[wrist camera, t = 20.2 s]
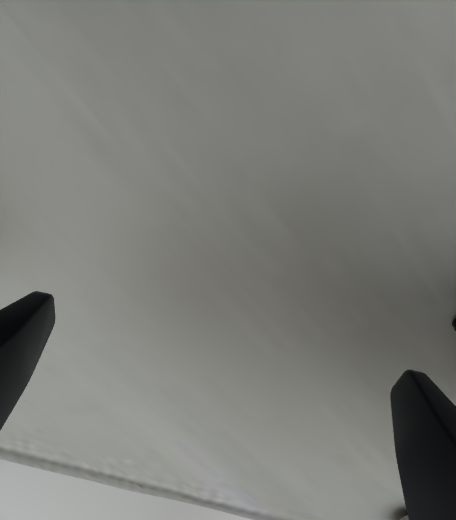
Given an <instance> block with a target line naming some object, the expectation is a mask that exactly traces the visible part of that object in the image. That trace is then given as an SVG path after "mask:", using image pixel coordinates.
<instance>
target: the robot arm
mask: <svg viewBox="0 0 456 520" xmlns="http://www.w3.org/2000/svg"><path fill="white" fill-rule="evenodd" d="M54 324H55V307H54V298H53V296H52V295H51V294H48V293H43V292H38V291H35V292H32V293H30V294H28V295H27V296H25V297H23V298H21V299H19V300H18V301H16V302H14V303H12V304H10V305H8V306H7V307H5V308H3V309H1V310H0V430H1V428H2V427H3V425H4V423H5V422H6V420H7V418H8V417H9V415H10V413H11V412H12V410H13V408H14V407H15V405H16V403H17V401H18V400H19V398H20V396H21V395H22V393H23V391H24V389H25V388H26V386H27V384H28V382H29V380H30V378H31V376H32V374H33V372H34V369H35V367H36V365H37V363H38V360H39V358H40V356H41V354H42V351H43V349H44V347H45V345H46V343H47V340H48V338H49V336H50V334H51V331H52V329H53V327H54ZM452 325H453V327H454V329H455V331H456V319H455V320H454V321H453V323H452ZM390 398H391V409H392V420H393V431H394V442H395V451H396V458H397V464H398V469H399V474H400V479H401V484H402V489H403V494H404V499H405V504H406V509H407V514H408V519H409V520H456V406H455V405H454V404H453V403H452V402H451V401H450V400H449V399H448V398H447V397H446V395H445V394H444V393H443V392H442V391H441V390H440V389H439V388H438V387H437V386H436V385H435V384H434V383H433V382H432V380H431V379H430V378H429V377H428V376H427V375H426V374H424V373H422V372H419V371H414V370H407V371H405V372H404V373H403V374H402V376H401V377H400V378H399V380H398V381H397V382H396V384H395V385H394V386H393V388H392V390H391V395H390Z"/></svg>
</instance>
